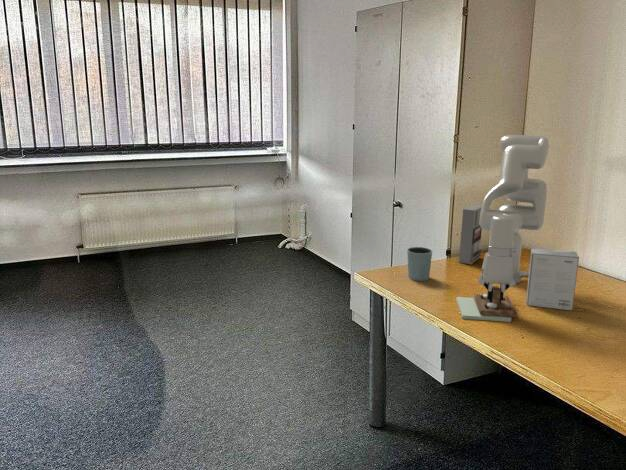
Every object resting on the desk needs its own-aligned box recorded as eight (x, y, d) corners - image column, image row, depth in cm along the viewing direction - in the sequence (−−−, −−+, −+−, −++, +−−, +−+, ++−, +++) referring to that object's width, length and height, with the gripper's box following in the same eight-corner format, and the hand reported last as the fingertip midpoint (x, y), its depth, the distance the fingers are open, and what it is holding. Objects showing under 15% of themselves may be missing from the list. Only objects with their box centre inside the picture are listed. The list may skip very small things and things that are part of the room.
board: (500, 302, 203) (501, 292, 202) (510, 321, 185) (512, 310, 184) (456, 299, 205) (457, 289, 204) (462, 318, 187) (463, 307, 186)
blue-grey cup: (432, 281, 224) (434, 253, 221) (407, 281, 225) (409, 253, 222) (427, 274, 234) (429, 246, 231) (404, 273, 234) (405, 246, 231)
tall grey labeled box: (471, 265, 248) (476, 210, 242) (458, 262, 251) (462, 209, 245) (480, 258, 259) (485, 205, 253) (468, 255, 262) (472, 204, 256)
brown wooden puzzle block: (507, 299, 201) (509, 281, 199) (516, 316, 186) (518, 297, 184) (473, 297, 202) (475, 279, 201) (480, 314, 187) (481, 295, 185)
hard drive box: (570, 304, 202) (577, 251, 197) (572, 311, 195) (580, 257, 190) (525, 298, 207) (531, 247, 202) (526, 305, 200) (532, 252, 195)
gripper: (521, 249, 192) (516, 299, 196) (474, 247, 194) (469, 296, 198) (526, 255, 184) (520, 306, 189) (477, 252, 187) (472, 303, 191)
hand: (494, 300), depth 194 cm, fingers closed on brown wooden puzzle block, 2 cm apart
